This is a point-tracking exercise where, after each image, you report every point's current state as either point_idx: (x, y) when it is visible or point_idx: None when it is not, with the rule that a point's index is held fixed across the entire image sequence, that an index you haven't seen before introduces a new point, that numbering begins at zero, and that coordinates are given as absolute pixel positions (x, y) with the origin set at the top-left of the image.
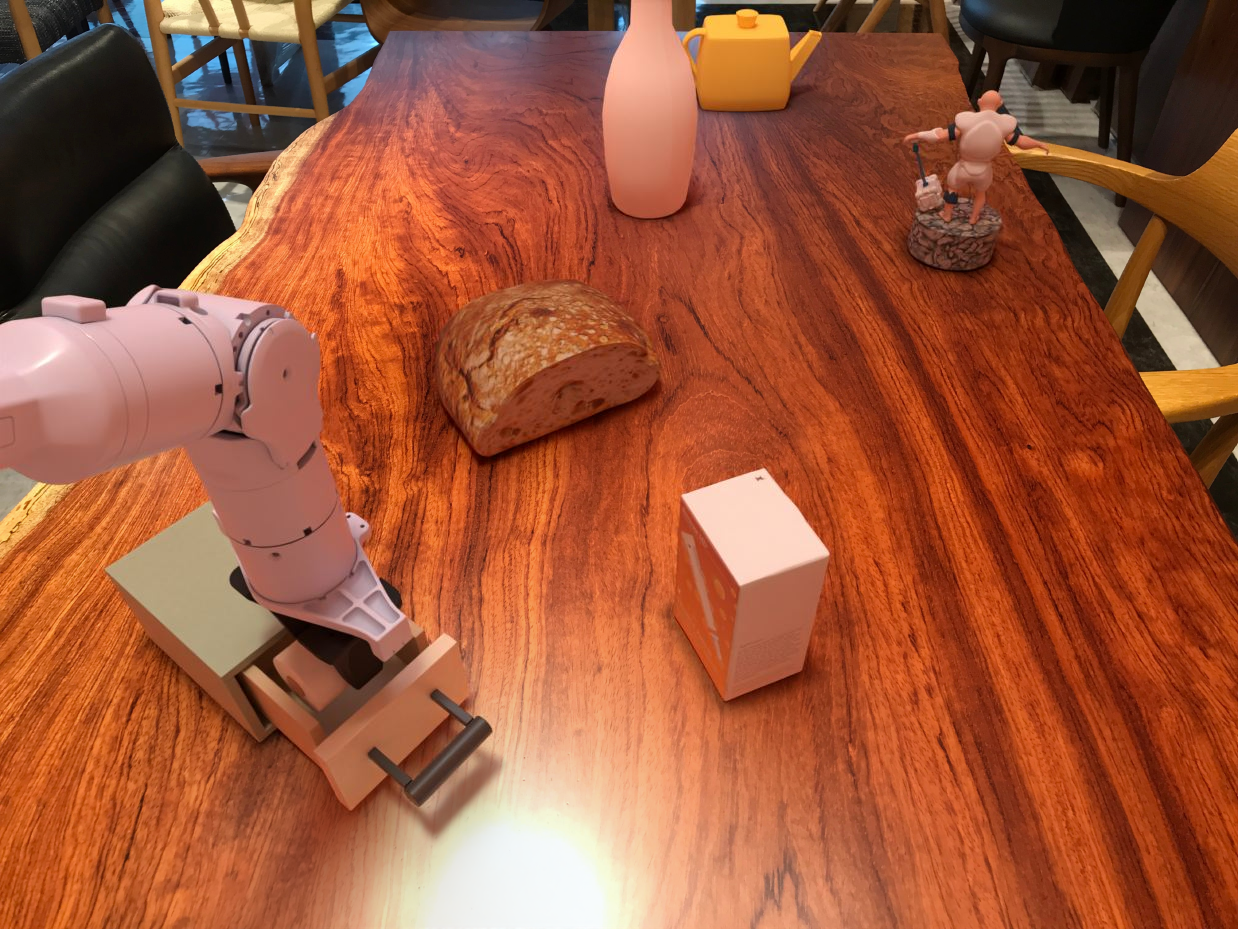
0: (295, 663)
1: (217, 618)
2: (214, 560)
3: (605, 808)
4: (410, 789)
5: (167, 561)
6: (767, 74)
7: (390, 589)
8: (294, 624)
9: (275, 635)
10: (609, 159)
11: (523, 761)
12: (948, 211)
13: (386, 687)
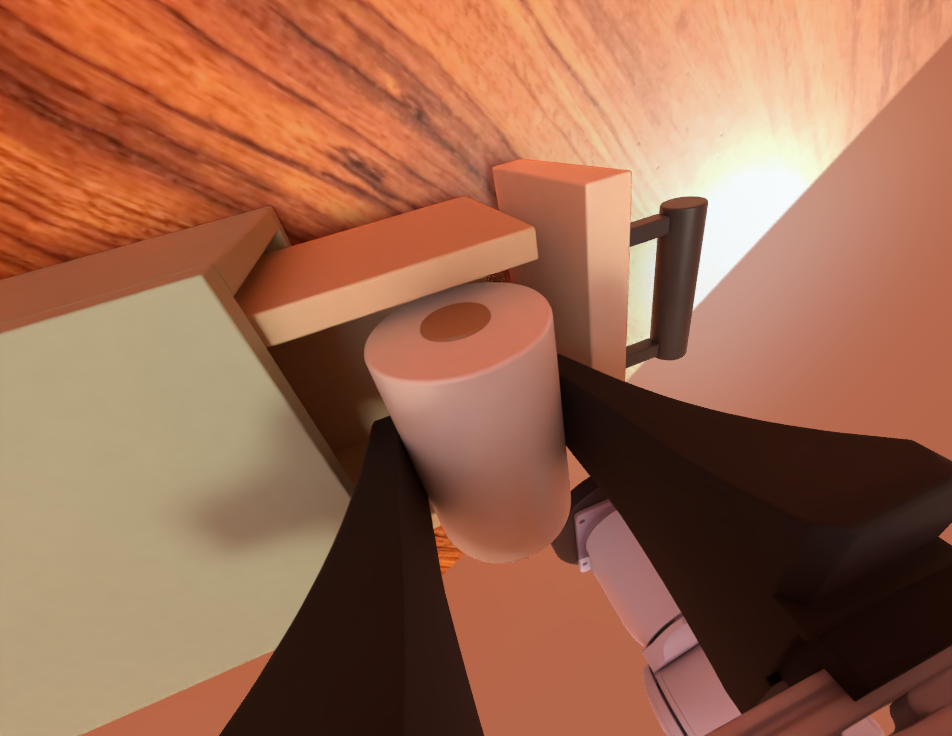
0: (538, 546)
1: (257, 609)
2: (11, 642)
3: (766, 90)
4: (678, 355)
5: None
6: None
7: (928, 507)
8: (432, 543)
9: None
10: None
11: (641, 149)
12: None
13: (596, 360)
